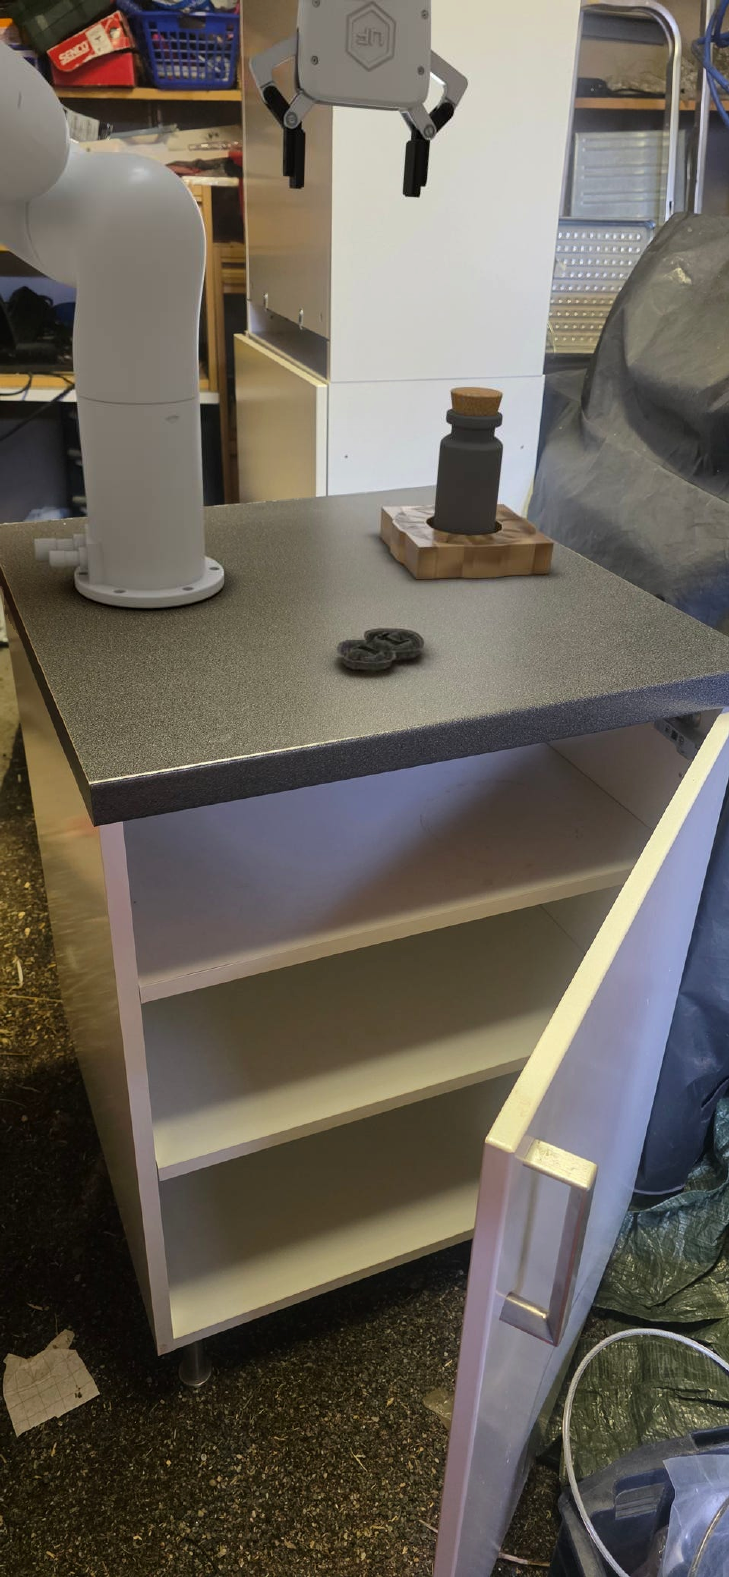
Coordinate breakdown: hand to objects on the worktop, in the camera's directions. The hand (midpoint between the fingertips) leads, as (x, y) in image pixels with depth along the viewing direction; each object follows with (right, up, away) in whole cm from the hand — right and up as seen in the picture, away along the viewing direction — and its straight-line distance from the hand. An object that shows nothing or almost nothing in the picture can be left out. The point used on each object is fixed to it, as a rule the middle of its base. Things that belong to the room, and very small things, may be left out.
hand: (354, 193), depth 84 cm
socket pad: (+10, -26, +16) cm, 32 cm away
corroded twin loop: (+2, -39, -7) cm, 40 cm away
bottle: (+10, -26, +16) cm, 32 cm away
